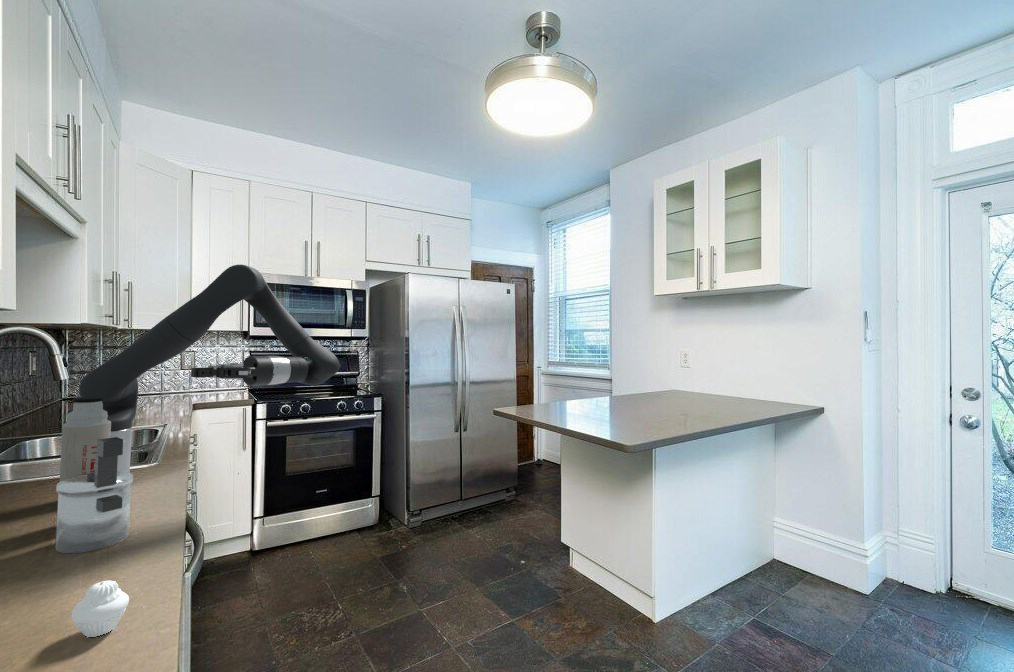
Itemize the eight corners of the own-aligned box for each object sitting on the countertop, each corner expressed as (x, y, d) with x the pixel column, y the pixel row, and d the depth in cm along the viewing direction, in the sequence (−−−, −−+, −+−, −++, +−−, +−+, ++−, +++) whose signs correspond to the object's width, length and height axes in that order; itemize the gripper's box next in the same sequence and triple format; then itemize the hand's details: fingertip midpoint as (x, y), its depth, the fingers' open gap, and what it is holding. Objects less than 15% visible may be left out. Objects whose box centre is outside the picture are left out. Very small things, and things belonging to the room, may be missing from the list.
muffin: (77, 625, 66) (80, 576, 66) (131, 613, 69) (134, 567, 69) (63, 650, 61) (66, 597, 61) (123, 637, 64) (125, 586, 64)
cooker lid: (48, 486, 92) (51, 435, 92) (121, 474, 101) (123, 427, 102) (70, 502, 84) (73, 445, 84) (147, 486, 94) (149, 436, 94)
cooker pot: (47, 543, 91) (50, 488, 92) (116, 525, 101) (118, 475, 101) (72, 562, 84) (75, 502, 84) (144, 541, 93) (146, 487, 94)
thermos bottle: (112, 523, 102) (118, 397, 103) (64, 535, 95) (70, 400, 96) (99, 515, 106) (104, 394, 107) (52, 526, 100) (58, 397, 100)
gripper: (253, 354, 122) (179, 355, 107) (282, 356, 115) (208, 357, 100) (251, 383, 122) (177, 387, 107) (281, 386, 115) (206, 391, 100)
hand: (192, 372), depth 104 cm, fingers closed
